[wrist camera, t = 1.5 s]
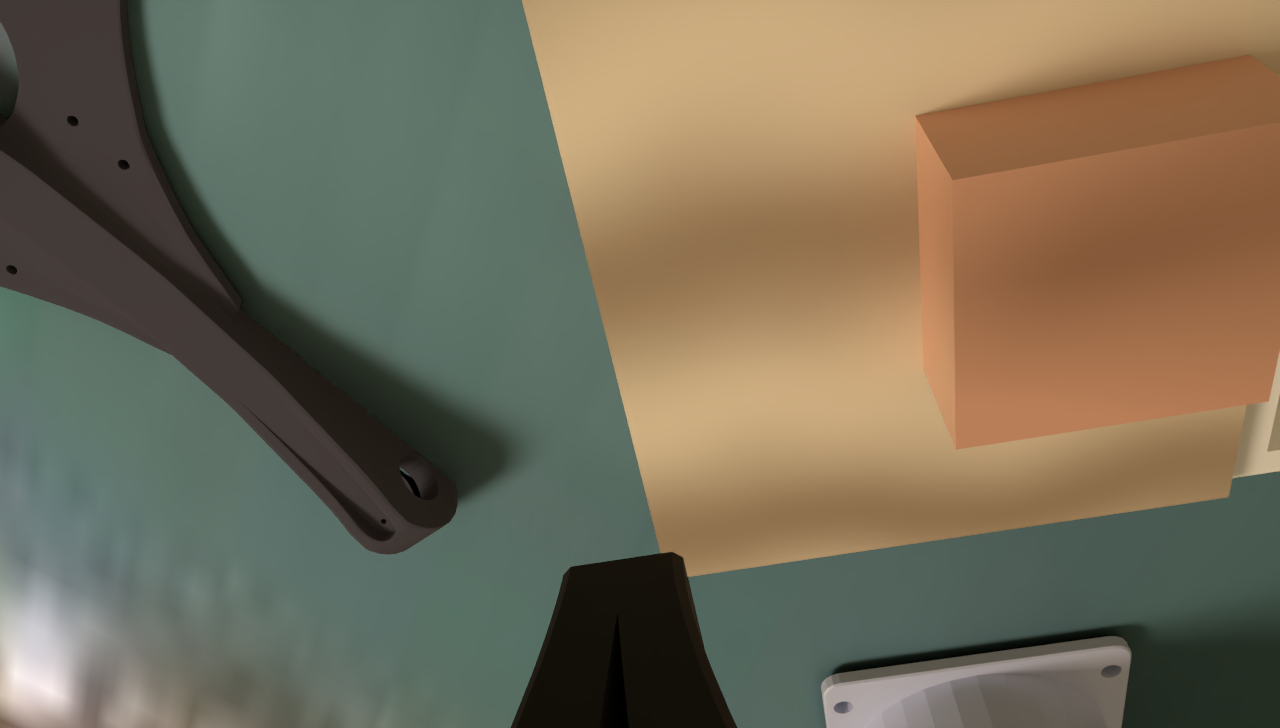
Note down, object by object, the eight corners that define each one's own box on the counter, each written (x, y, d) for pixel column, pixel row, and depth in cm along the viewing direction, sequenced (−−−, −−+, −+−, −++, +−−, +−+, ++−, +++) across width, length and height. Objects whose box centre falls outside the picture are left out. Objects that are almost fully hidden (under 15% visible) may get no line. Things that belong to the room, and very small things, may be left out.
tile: (1206, 324, 19) (1268, 401, 17) (923, 370, 19) (955, 449, 18) (1249, 54, 16) (1329, 113, 14) (914, 115, 16) (953, 180, 15)
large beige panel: (1174, 418, 23) (1228, 496, 21) (662, 498, 24) (667, 579, 22) (1283, -322, 15) (1388, -308, 13) (505, -157, 16) (492, -121, 14)
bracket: (242, 612, 27) (211, 703, 25) (-382, 217, 20) (-503, 296, 18) (689, 314, 22) (700, 395, 20) (74, -347, 15) (-15, -337, 13)
